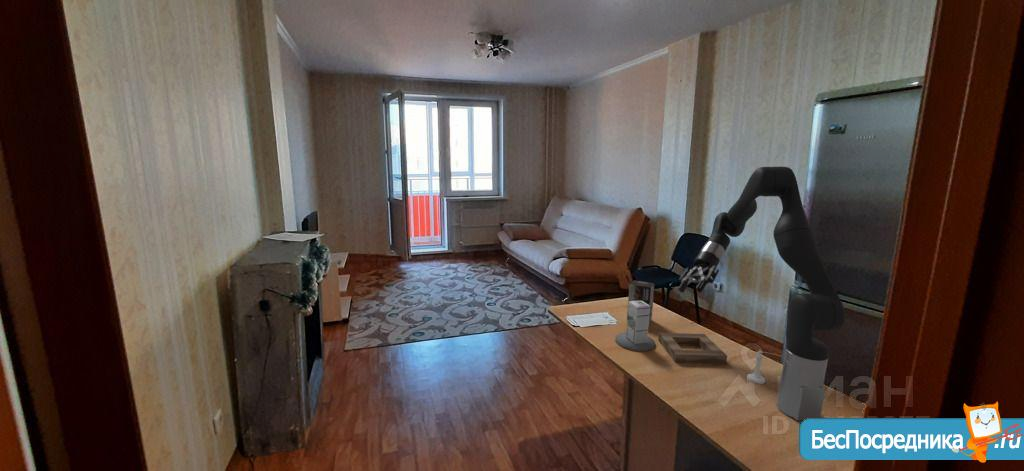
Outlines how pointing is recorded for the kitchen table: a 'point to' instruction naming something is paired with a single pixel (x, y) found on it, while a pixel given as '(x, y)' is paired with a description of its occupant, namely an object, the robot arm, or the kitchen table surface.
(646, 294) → the coffee box
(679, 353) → the walnut holder
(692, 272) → the robot arm
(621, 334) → the slate mat
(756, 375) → the chess piece
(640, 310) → the syrup box
